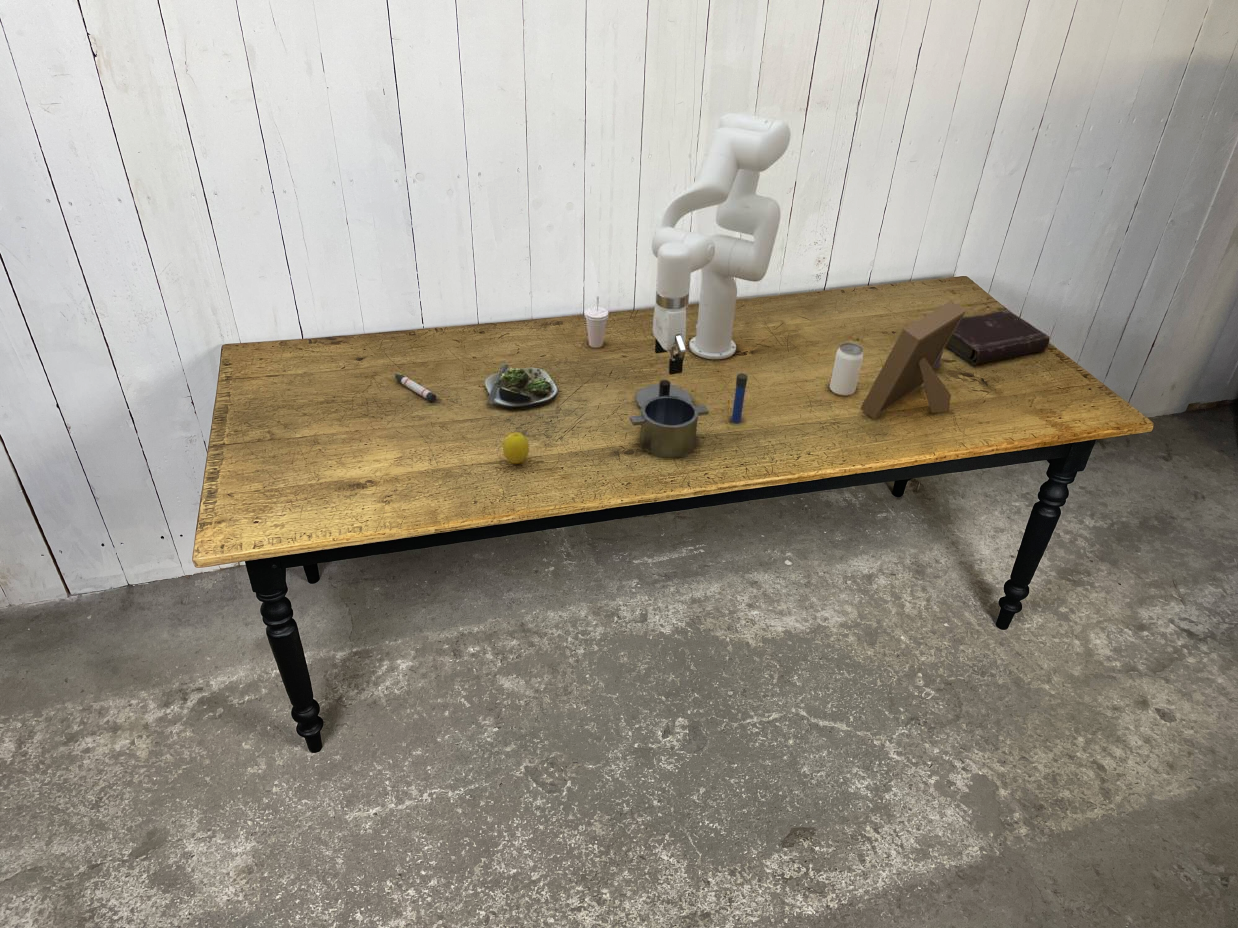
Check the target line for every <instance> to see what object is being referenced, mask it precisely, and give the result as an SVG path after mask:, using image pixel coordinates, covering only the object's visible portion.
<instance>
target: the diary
mask: <svg viewBox="0 0 1238 928" xmlns="http://www.w3.org/2000/svg"><path fill="white" fill-rule="evenodd" d="M1050 339H1051V337H1050V335H1048V334H1046V333H1044V332H1043V331H1041V330H1040V329H1038V328H1036V327H1035V326H1033V325H1032V324H1031V323H1030V322H1028V321H1026V320H1025V319H1023V318H1021V317H1019V316H1018V315H1016V314H1014V313H1013V312H1010V311H1009V310H1007V309H1005V310H999V311H994V312H989V313H983V314H978V315H973V316H963V317H962V319H961V321H960V322H959V324H958V326H957V327H956V329H955V331H954V332H953V334H952V336H951V337H950V339H949V341H948V342H947V344H946V346H945V348H947V349H949V350H950V351H951V352H952V353H954V354H956V355H957V356H959V357H960V358H961V359H963V360H964V361H966V362H967V363H969V364H970V365H971V366H977V365H982V364H985V363H990V362H994V361H999V360H1001V361H1002V360H1005V359H1006V360H1007V359H1012V358H1014V357H1018V356H1023V355H1026V354H1033V353H1038V352H1044V351H1046V350H1047V348H1048V346H1049V343H1050Z"/></svg>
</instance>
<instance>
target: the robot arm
mask: <svg viewBox="0 0 1238 928" xmlns="http://www.w3.org/2000/svg"><path fill="white" fill-rule="evenodd" d="M791 136H792V135H791V128H790V125H789V124H788V123H787V122H786V121H785V120H781V119H777V118H771V117H766V116H760V115H755V114H750V113H743V112H729V113H726V114H724V115H723V116H722V117H721V119H720V120H719V125H718V129H716V130H715V131H714V132H713V133H712V135H711V138H710V140H709V142H708V145H707V148H706V150H705V153H704V156H703V158H702V161H701V163H700V165H699V166H700V167H699V169H698V171H697V174H696V175H695V179H694V182H693V184H692V185H691V186H689V187H688V188H686V189H684V190H683V191H681V192H680V193H679V194H678V195H676V196H675V197H674V198H673V199H672V200H671V201H670V202H668V204H667V205H666V206H665V207H664V209H663V210H662V212H661V213H660V216H659V220H658V221H657V224H656V227H655V230H654V232H653V236H652V238H651V252H652V254H653V255H654V257H655V258H657V263H656V264H657V265H656V285H655V304H654V310H653V320H652V333H653V336H654V337H655V340H654V353H655V354H663V353H667V352H669V354H670V358H669V363H668V374H669V375H677V374H682V373H683V369H684V360H685V357H686V352H687V349H686V347H685V345H686V338H687V308H688V307H689V300H690V291H691V289H690V288H691V287H690V286H691V277H692V276H691V274H692V273H694V272H697V271H698V270H701V271H700V272H701V275H700V276H701V278H700V279H701V280H700V292H699V301H698V311H697V313H698V314H697V320H696V321H697V322H696V325H695V328H696V331H695V332H696V333H695V336H694V337H692V338H691V339H690V340H689V345H688V346H689V350H690V352H691V353H693V354H694V355H696V356H698V357H700V358H703V359H707V360H723V359H728V358H730V357H733V355H735V353H736V352H737V351H736V350H737V345H736V342H735V341H734V340H733V338H732V337H733V330H734V329H733V328H734V322H735V321H734V320H735V313H736V305H737V299H738V298H737V297H738V287H737V282H736V280H735V279H739V280H744V281H747V282H755V283H756V282H760V281H762V280H763V279H764V278H765V276H766V274H767V273H768V272H767V271H768V269H769V266H770V262H771V259H772V254H773V252H774V251H773V250H774V246H775V243H776V239H777V235H778V231H779V227H780V223H781V222H780V221H781V213H782V212H781V206H780V203H779V202H778V201H777V200H776V199H774V198H771V197H768V196H763V195H759V194H757V189H758V185H759V180H760V175H761V173H762V172H765V171H766V170H768V169H769V168H770V167H772V166H773V165H775V163H776V162H777V161H778V160H780V159H781V158H782V157H783V155H784V154H785V153H786V151H787V150H788V147H789V146H790V142H791ZM714 206H717V207H716V211H715V222H716V224H717V226H719V227H720V228H722V229H724V230H727V231H731V232H735V233H740V234H745V235H750V236H753V239H754V240H748V239H743V238H740V237H735V236H731V235H727V234H721V233H720V234H719V233H718V234H717V233H715V234H711V235H706V234H702V233H697V232H695V231H691V230H686V229H682V228H676V225H677V224H678V222H679V221H680V220H681V219H682V218H683V217H685V216H686V215H687V214H688V215H689V214H690V213H692V212H694V211H697V210H701V209H706V208H710V207H714ZM674 345H676V346H674ZM675 351H677V353H675Z"/></svg>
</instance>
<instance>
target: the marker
mask: <svg viewBox="0 0 1238 928" xmlns="http://www.w3.org/2000/svg"><path fill="white" fill-rule="evenodd" d="M394 377H395V379H396V380H397V382H398V383H400V384H401V385H403V386H405V387H406V388H407V389H409V390H411V391H413V392H414V393H416V394H418V395H419V396H421V397H422V398H425V399H426V400H427V401H428V402H429V401H430V402H432V403H434V402H435V401H436V400H437V395H436V394H435V393H434V392H433V391H430V390H429V389H427V388H426V387H424V386H422V385H420V384H419V383H417V382H415V381H414V380H412V379H410V378H409V377H407V376H406V375H404V374H399V373H397V374H396V373H394Z"/></svg>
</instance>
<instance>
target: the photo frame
mask: <svg viewBox="0 0 1238 928" xmlns="http://www.w3.org/2000/svg"><path fill="white" fill-rule="evenodd" d="M966 312H967V309H965V308H964V307H962V306H961V305H959V304H957V303H956V302H954V301H953V300H950V301H948V302H947V303H945V304H942V305H941V306H940V307H938V308H936V309H935V310H933V311H931V312H930V313H927V314H926V315H925V316H923V317H921V318H919V319H918V320H916V321H914V322H913V323H911V324H909V325H907V326H906V327H905V328H903V329H902V330H901V332H900V334H899V336H898V337H897V340H896V341H895V343H894V345H893V347H892V349H891V351H890V353H889V355H888V356H887V358H886V360H885V362H884V364H883V365H882V367H881V369H880V371H879V373H878V374H877V376H876V378H875V380H874V382H873V384H872V386H871V388H870V390H869V392H868V393H867V394H866V396H865V398H864V401H863V402H862V404H861V406H860V408H859V409H860V410H861V411H862V412H864V413H865V414H866V415H868V416H869V417H871V418H872V419H873V420H875V419H877V418H878V417H880V416H881V415H883V414H884V413H886V412H887V411H888V410H890V409H891V408H893V407H895V406H896V405H897V404H899V403H900V402H902V401H903V400H905V399H906V398H908V397H909V396H910V395H912V394H913V393H915V392H917V391H918V390H919V389H921V388H922V386H923V387H924V391H925V395H926V399H927V402H928V406H929V410H930V413H931V414H938V413H947V412H949V409H950V405H951V400H952V399H951V398H952V394H951V393H950V391H949V390H948V388H947V387H946V386H945V384H944V383H943V381H942V380H941V379H940V376H938V374H937V372H935V370H934V368H932V367H933V366H934V364H935V362H936V361H937V359H938V357H939V356H940V354H941V352H942V351H943V352H944V350H945V348H946V344H947V342H948V341H949V339H950V337H951V336H952V334H953V332H954V331H955V329H956V327H957V326H958V324H959V322H960V321H961V319H962V318H963V317H965V314H966ZM943 349H944V350H943Z"/></svg>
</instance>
